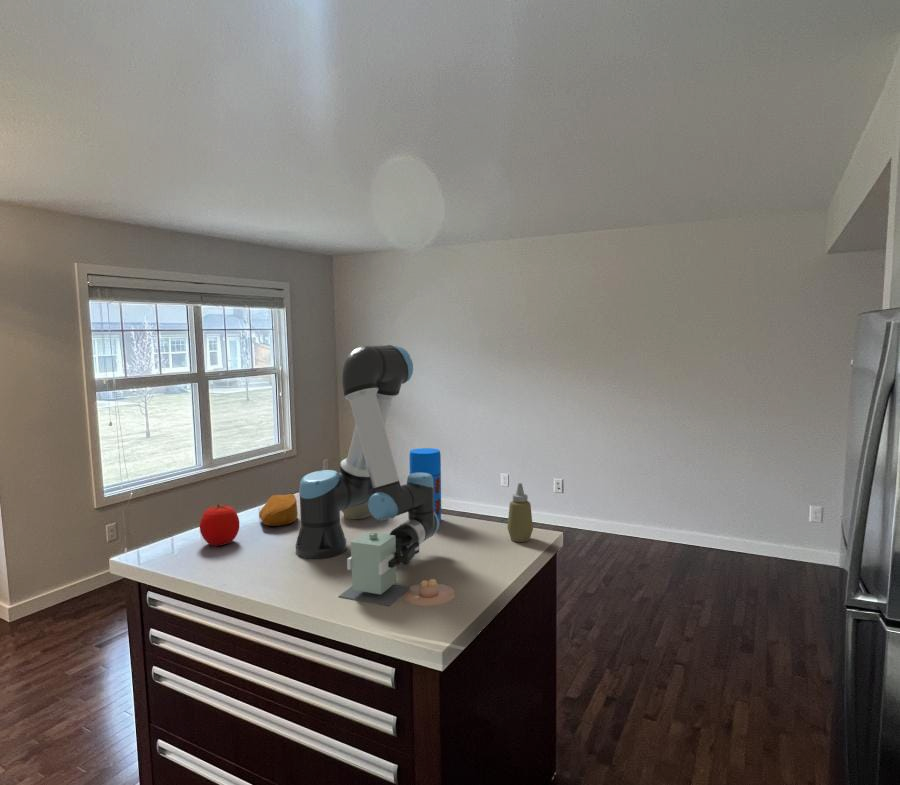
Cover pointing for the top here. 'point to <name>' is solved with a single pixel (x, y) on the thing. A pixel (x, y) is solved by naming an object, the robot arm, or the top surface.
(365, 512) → the planter bowl
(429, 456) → the thermos
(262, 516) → the bread
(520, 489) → the squeeze bottle
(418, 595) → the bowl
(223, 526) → the red apple
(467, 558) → the top surface
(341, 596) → the mat
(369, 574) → the cover
